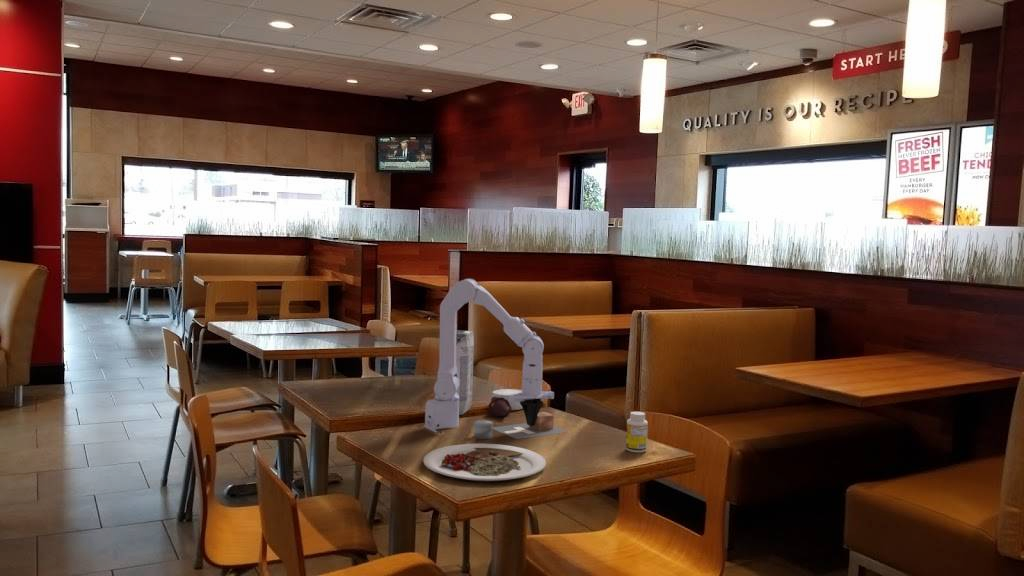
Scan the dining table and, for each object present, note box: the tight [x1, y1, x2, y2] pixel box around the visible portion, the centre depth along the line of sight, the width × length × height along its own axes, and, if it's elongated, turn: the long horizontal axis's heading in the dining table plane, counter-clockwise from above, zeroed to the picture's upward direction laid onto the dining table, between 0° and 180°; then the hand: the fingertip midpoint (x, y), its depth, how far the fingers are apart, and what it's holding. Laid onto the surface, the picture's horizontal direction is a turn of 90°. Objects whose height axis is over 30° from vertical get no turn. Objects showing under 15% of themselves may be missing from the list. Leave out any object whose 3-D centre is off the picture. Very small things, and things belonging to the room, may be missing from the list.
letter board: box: [492, 422, 569, 440], centre depth 227 cm, size 18×14×1 cm
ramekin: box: [492, 388, 523, 411], centre depth 259 cm, size 11×11×5 cm
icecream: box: [488, 396, 512, 417], centre depth 243 cm, size 7×7×15 cm
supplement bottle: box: [625, 411, 649, 454], centre depth 212 cm, size 6×6×10 cm
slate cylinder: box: [473, 420, 494, 440], centre depth 217 cm, size 5×5×5 cm
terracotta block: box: [529, 411, 555, 431], centre depth 229 cm, size 5×5×4 cm
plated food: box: [422, 443, 547, 482], centre depth 193 cm, size 30×30×3 cm
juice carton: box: [456, 329, 475, 416], centre depth 250 cm, size 9×10×27 cm
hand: (530, 425), depth 227 cm, fingers closed
